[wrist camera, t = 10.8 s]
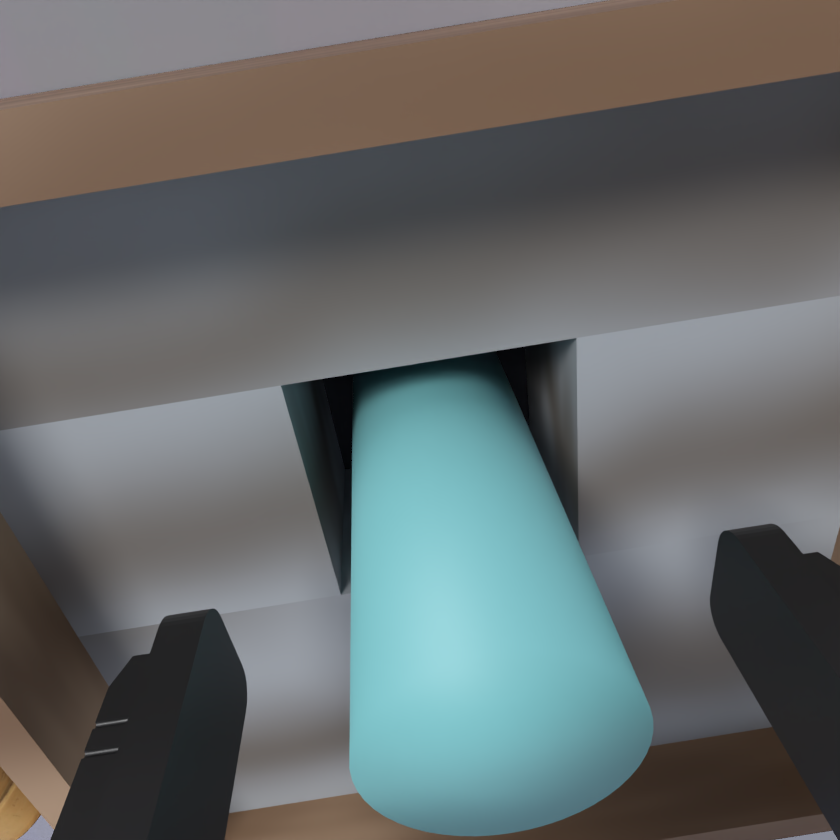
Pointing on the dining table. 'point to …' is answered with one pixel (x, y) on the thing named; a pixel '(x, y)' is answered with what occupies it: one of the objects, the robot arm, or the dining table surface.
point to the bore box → (411, 344)
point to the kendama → (14, 810)
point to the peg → (475, 616)
